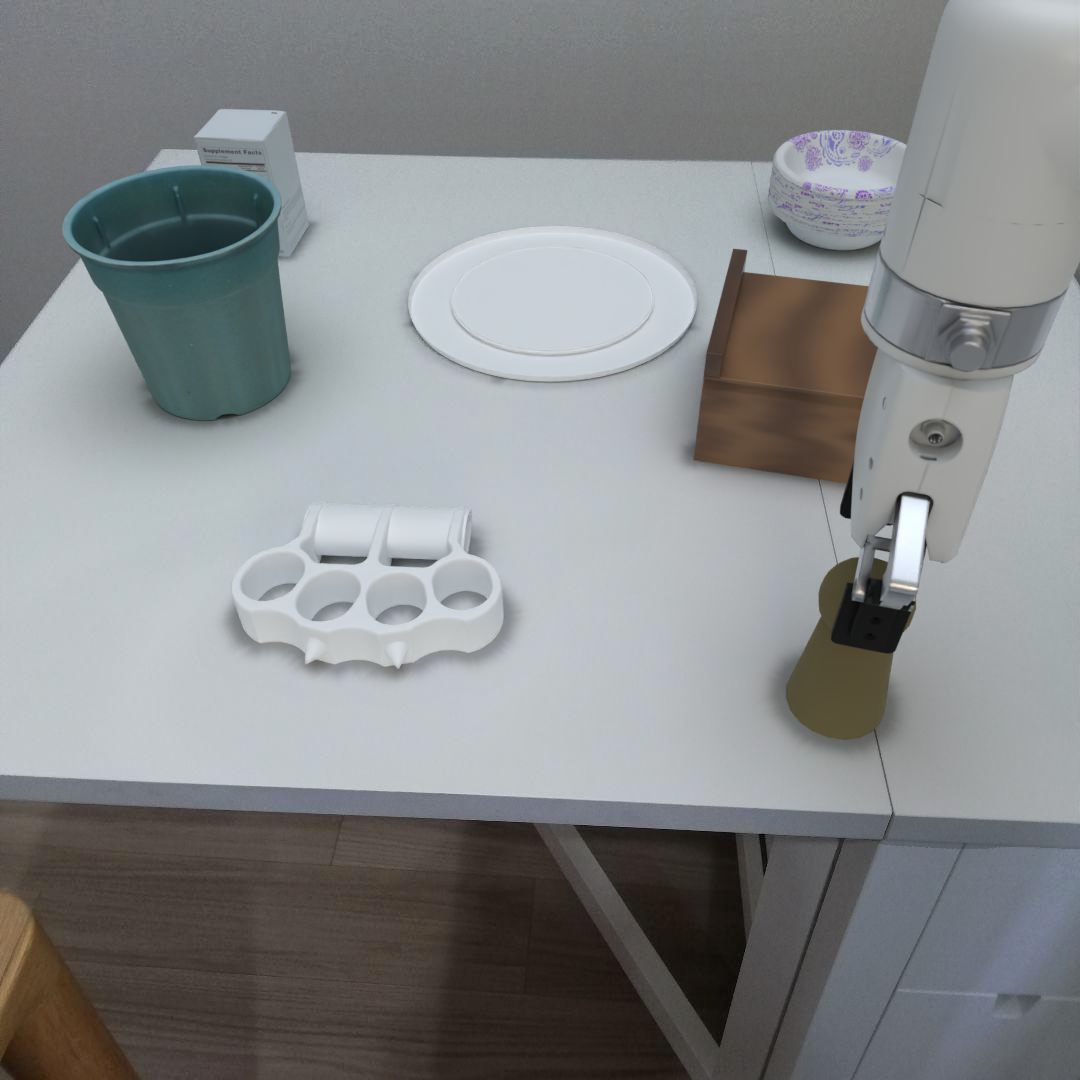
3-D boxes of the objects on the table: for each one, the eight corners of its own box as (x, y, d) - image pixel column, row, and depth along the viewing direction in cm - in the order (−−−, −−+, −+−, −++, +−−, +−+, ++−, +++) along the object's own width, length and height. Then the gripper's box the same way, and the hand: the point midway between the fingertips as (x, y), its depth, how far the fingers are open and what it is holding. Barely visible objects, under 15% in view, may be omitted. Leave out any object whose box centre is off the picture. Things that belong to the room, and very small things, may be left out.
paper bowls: (799, 274, 98) (813, 199, 93) (741, 208, 109) (751, 136, 103) (936, 254, 101) (957, 180, 95) (867, 191, 111) (883, 121, 106)
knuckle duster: (515, 531, 72) (494, 690, 62) (278, 521, 74) (218, 676, 63) (514, 497, 70) (492, 657, 60) (268, 488, 71) (204, 643, 61)
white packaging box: (247, 223, 108) (219, 106, 100) (311, 226, 108) (288, 109, 99) (222, 255, 103) (190, 135, 94) (290, 259, 102) (264, 138, 94)
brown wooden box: (878, 372, 86) (907, 267, 79) (874, 489, 75) (907, 379, 68) (719, 351, 89) (733, 248, 82) (693, 461, 78) (706, 352, 71)
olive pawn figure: (777, 724, 60) (808, 604, 52) (793, 651, 64) (825, 530, 56) (878, 752, 58) (926, 633, 50) (889, 676, 62) (935, 554, 55)
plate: (757, 308, 94) (758, 301, 93) (528, 423, 81) (528, 416, 81) (569, 207, 110) (569, 201, 109) (354, 291, 97) (353, 285, 97)
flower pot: (343, 401, 84) (310, 226, 73) (152, 463, 79) (84, 283, 68) (282, 314, 95) (245, 149, 83) (109, 363, 89) (44, 193, 78)
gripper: (1079, 439, 35) (939, 719, 47) (1034, 219, 47) (932, 488, 59) (862, 405, 36) (780, 686, 48) (873, 200, 48) (805, 467, 60)
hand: (864, 577), depth 53 cm, fingers open, 9 cm apart
